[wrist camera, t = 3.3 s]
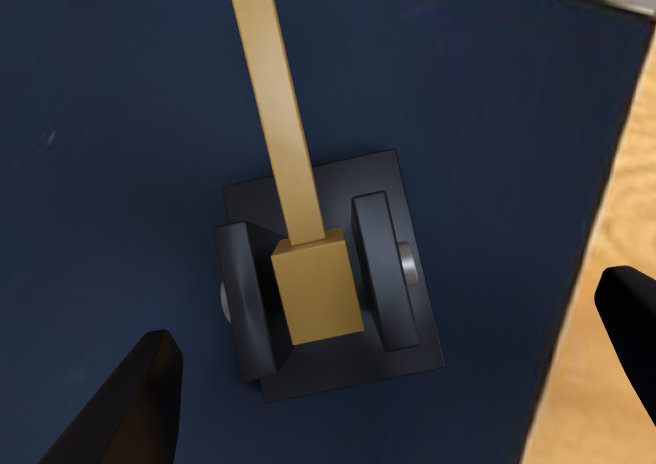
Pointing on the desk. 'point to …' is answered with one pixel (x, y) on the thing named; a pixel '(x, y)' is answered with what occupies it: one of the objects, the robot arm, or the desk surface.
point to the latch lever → (296, 193)
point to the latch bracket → (368, 271)
